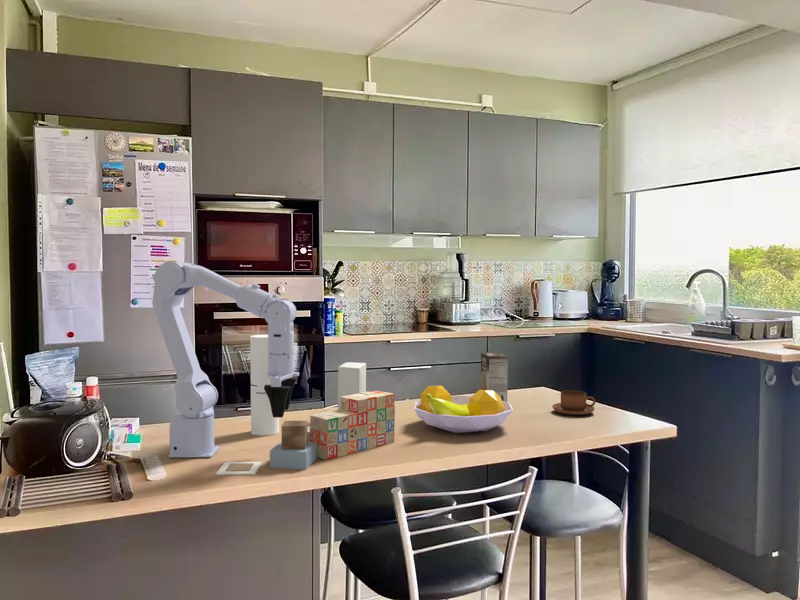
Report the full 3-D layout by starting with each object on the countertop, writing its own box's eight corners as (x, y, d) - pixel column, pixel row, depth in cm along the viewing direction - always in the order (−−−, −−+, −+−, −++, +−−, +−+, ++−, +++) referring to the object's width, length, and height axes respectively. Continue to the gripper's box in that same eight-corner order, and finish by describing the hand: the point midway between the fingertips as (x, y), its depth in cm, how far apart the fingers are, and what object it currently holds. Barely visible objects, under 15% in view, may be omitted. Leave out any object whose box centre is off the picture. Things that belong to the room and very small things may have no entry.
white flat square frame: (215, 474, 133) (215, 473, 133) (225, 463, 141) (225, 461, 141) (255, 474, 134) (255, 472, 134) (262, 463, 142) (262, 461, 142)
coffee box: (480, 403, 206) (480, 352, 205) (499, 402, 206) (500, 352, 206) (487, 409, 197) (487, 356, 196) (507, 408, 197) (508, 355, 197)
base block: (270, 469, 139) (269, 450, 138) (282, 458, 146) (282, 440, 146) (306, 470, 137) (306, 452, 137) (316, 459, 145) (316, 442, 145)
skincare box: (345, 415, 188) (345, 361, 187) (367, 416, 187) (367, 362, 186) (336, 422, 180) (336, 366, 179) (359, 423, 178) (359, 366, 178)
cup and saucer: (586, 408, 198) (587, 388, 198) (600, 417, 186) (600, 396, 186) (547, 409, 198) (547, 389, 198) (558, 418, 186) (558, 396, 186)
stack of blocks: (326, 461, 144) (326, 405, 143) (309, 455, 148) (309, 401, 148) (395, 442, 159) (395, 392, 158) (377, 438, 163) (377, 389, 163)
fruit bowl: (468, 411, 193) (468, 374, 193) (533, 431, 170) (534, 388, 170) (388, 424, 178) (388, 382, 177) (448, 446, 155) (448, 399, 155)
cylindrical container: (265, 427, 173) (265, 334, 172) (285, 431, 169) (284, 335, 168) (245, 432, 168) (244, 336, 166) (264, 437, 164) (263, 338, 162)
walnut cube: (281, 449, 139) (281, 426, 139) (284, 443, 144) (284, 420, 144) (305, 449, 139) (305, 426, 139) (307, 442, 144) (307, 420, 144)
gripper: (294, 357, 139) (294, 420, 139) (302, 349, 153) (302, 406, 154) (261, 357, 139) (261, 420, 139) (272, 349, 153) (272, 406, 154)
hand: (280, 413), depth 147 cm, fingers open, 7 cm apart
